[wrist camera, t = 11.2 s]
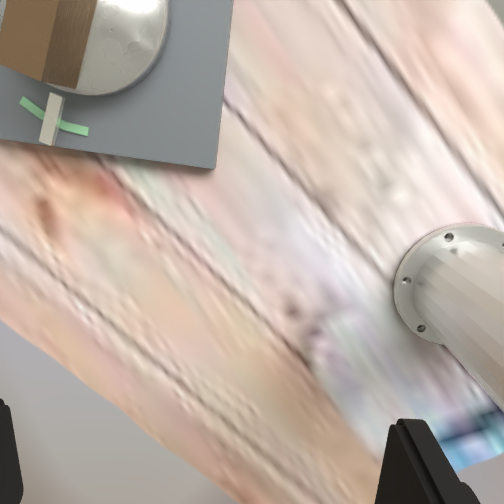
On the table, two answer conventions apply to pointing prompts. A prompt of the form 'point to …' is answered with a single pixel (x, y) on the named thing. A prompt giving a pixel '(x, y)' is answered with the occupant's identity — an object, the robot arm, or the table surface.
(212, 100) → the dial plate
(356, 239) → the table surface
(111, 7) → the tuning dial
